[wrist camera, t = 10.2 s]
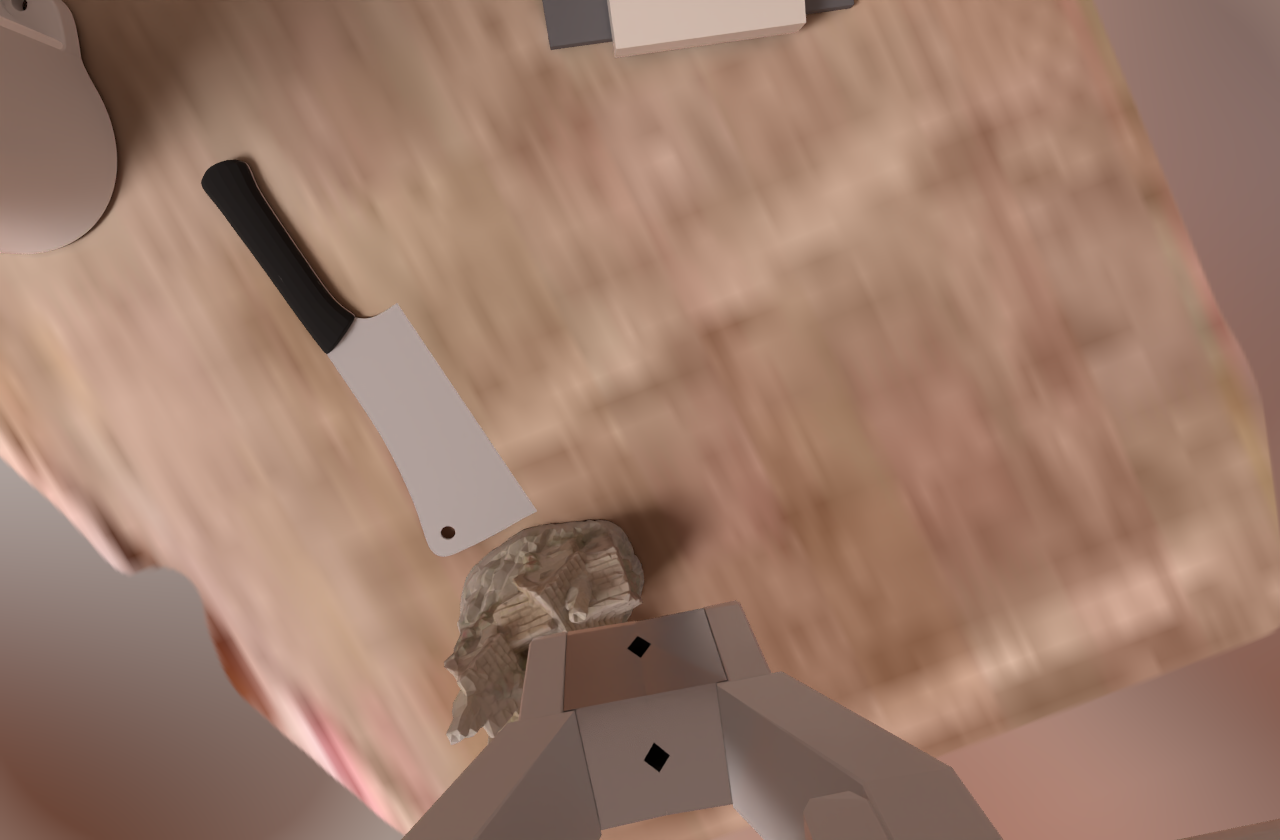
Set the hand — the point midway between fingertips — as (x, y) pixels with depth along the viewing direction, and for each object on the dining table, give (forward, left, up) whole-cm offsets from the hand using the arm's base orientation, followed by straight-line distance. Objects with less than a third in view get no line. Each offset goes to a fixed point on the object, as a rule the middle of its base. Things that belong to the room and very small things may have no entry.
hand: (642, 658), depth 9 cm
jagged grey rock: (+11, -21, -37) cm, 44 cm away
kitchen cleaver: (-11, -10, -38) cm, 41 cm away
